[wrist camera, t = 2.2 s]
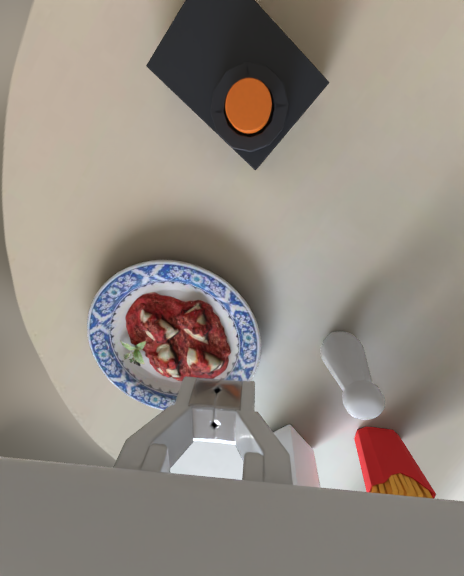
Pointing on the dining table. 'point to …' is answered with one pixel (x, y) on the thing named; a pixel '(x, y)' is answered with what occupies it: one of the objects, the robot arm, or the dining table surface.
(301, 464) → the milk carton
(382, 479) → the french fries
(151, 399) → the ceramic plate
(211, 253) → the dining table surface
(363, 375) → the salt shaker
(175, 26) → the button base
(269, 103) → the orange push button
